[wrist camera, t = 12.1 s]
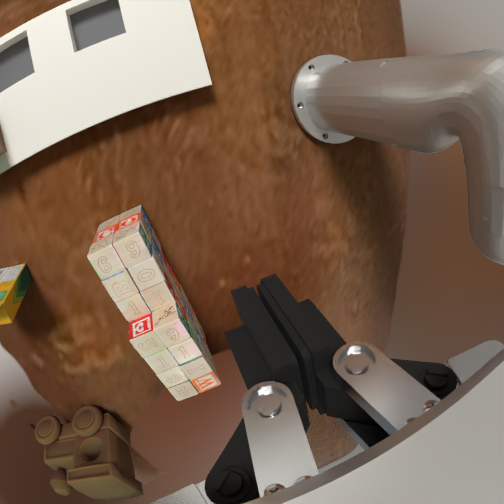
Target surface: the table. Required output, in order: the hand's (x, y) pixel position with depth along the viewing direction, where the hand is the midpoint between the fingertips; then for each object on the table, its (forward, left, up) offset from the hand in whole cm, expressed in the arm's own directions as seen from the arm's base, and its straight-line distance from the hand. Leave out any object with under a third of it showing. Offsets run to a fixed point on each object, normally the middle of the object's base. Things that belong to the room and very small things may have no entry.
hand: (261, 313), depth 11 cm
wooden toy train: (+36, +37, -29) cm, 60 cm away
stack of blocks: (+8, +13, -29) cm, 33 cm away
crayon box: (+28, +4, -29) cm, 41 cm away
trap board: (+9, -17, -29) cm, 35 cm away
